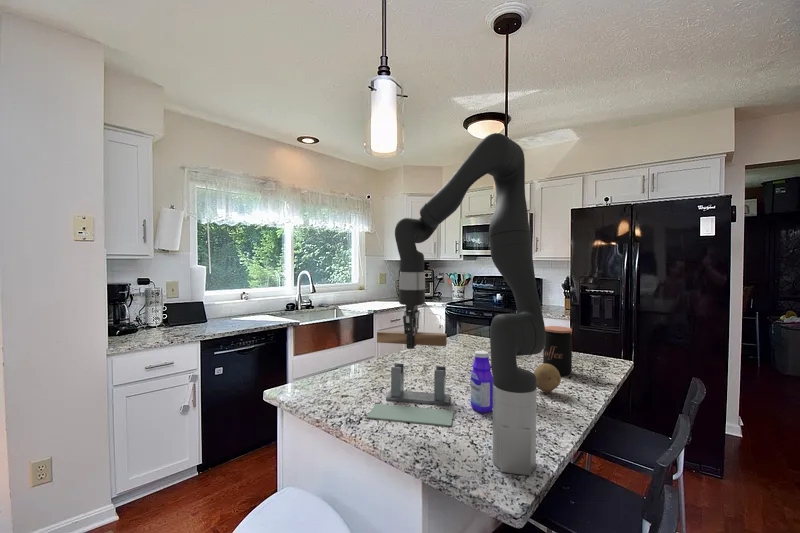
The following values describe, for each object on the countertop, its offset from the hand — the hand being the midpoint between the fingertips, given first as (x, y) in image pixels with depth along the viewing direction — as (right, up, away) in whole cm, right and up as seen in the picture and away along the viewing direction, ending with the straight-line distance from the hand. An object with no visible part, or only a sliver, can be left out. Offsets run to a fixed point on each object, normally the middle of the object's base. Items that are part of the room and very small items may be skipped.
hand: (411, 346), depth 107 cm
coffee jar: (+60, -20, +42) cm, 76 cm away
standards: (+3, -20, +13) cm, 24 cm away
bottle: (+21, -20, +5) cm, 30 cm away
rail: (0, +1, 0) cm, 1 cm away
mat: (0, -20, 0) cm, 20 cm away
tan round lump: (+47, -20, +19) cm, 54 cm away
